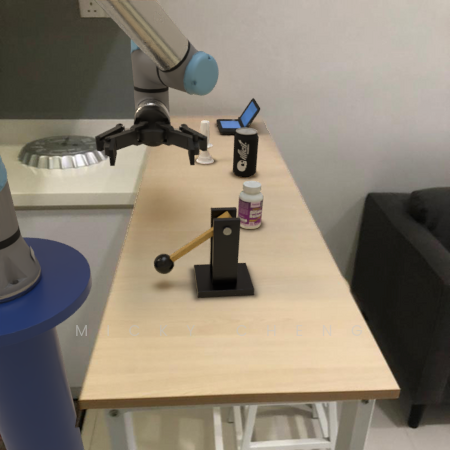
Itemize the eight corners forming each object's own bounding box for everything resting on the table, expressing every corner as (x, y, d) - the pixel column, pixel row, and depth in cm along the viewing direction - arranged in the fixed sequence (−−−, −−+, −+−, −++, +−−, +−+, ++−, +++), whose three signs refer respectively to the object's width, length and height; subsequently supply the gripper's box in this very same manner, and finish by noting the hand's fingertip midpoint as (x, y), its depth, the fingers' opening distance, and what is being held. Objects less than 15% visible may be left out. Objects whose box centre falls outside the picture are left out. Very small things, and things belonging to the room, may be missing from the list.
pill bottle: (252, 232, 102) (255, 190, 97) (232, 225, 105) (234, 184, 99) (265, 223, 106) (269, 183, 100) (246, 217, 108) (249, 177, 103)
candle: (197, 164, 136) (197, 122, 129) (194, 158, 140) (194, 116, 133) (215, 163, 137) (216, 121, 130) (212, 157, 141) (213, 116, 134)
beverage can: (229, 176, 129) (231, 132, 122) (236, 168, 134) (238, 125, 127) (252, 179, 127) (255, 135, 120) (258, 171, 132) (261, 128, 125)
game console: (215, 122, 172) (216, 96, 167) (252, 123, 174) (254, 97, 168) (219, 135, 160) (220, 107, 154) (258, 135, 161) (261, 108, 156)
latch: (162, 281, 82) (149, 267, 80) (162, 270, 85) (149, 257, 83) (239, 231, 78) (227, 215, 76) (235, 221, 81) (224, 206, 79)
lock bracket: (197, 297, 81) (197, 226, 73) (193, 270, 89) (193, 203, 81) (253, 294, 83) (259, 224, 75) (245, 268, 90) (250, 201, 82)
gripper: (212, 141, 100) (224, 178, 83) (92, 141, 97) (80, 179, 79) (212, 104, 95) (225, 135, 78) (87, 103, 92) (73, 135, 75)
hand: (152, 157), depth 79 cm, fingers open, 13 cm apart
